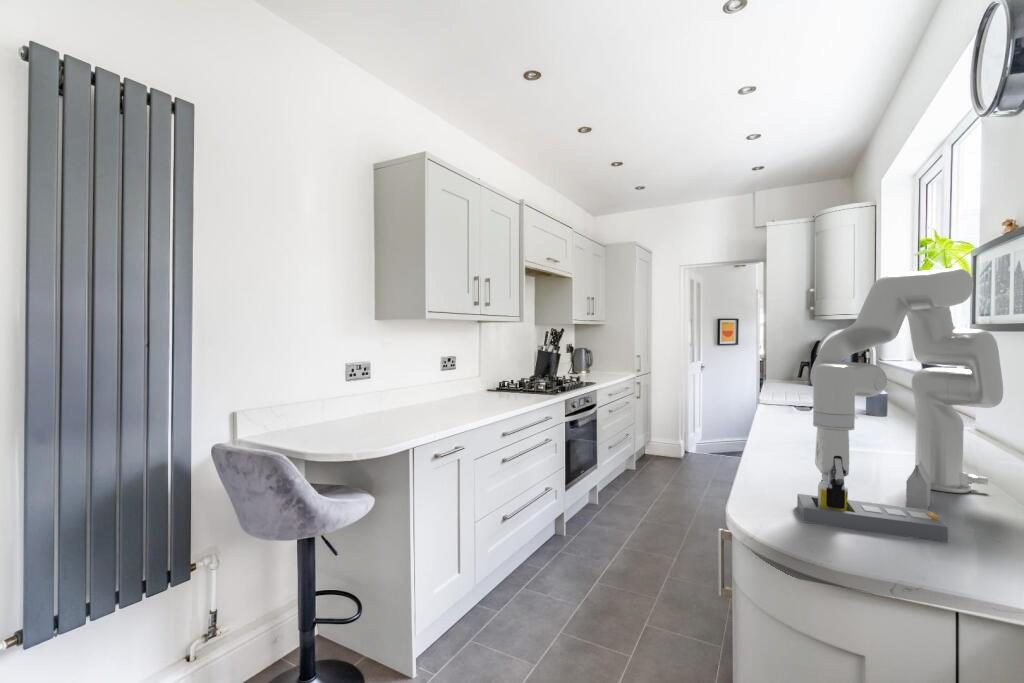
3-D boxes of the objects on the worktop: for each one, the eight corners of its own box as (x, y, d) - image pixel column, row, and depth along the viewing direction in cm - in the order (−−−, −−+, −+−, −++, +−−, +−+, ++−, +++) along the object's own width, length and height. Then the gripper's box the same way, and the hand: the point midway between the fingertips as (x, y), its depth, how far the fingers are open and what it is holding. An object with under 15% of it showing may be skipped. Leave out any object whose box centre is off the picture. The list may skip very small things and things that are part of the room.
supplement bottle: (852, 523, 100) (852, 477, 100) (824, 521, 101) (824, 476, 101) (840, 514, 106) (840, 470, 106) (813, 512, 107) (813, 469, 107)
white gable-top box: (930, 503, 113) (931, 461, 113) (926, 510, 109) (927, 467, 109) (910, 499, 116) (911, 458, 116) (906, 506, 111) (906, 463, 111)
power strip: (927, 523, 101) (928, 506, 101) (947, 542, 92) (948, 523, 91) (797, 506, 111) (797, 491, 111) (803, 521, 101) (803, 504, 101)
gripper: (807, 413, 113) (806, 489, 113) (820, 425, 97) (819, 513, 97) (845, 415, 110) (844, 493, 110) (864, 429, 94) (863, 519, 94)
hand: (832, 501), depth 104 cm, fingers closed on supplement bottle, 5 cm apart
